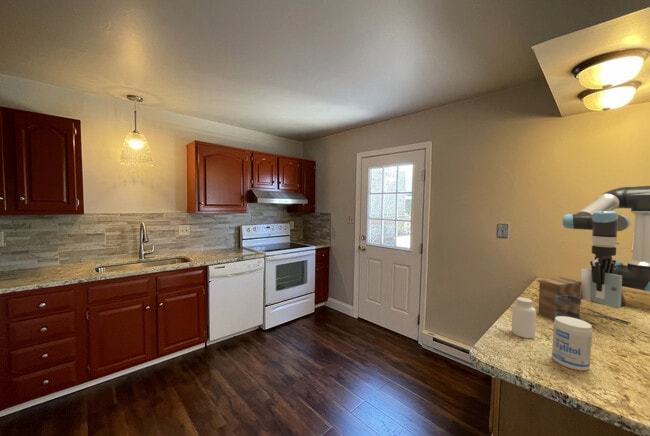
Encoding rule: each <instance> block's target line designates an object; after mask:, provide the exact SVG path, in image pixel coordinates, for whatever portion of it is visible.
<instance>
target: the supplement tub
mask: <svg viewBox="0 0 650 436" xmlns="http://www.w3.org/2000/svg"><path fill="white" fill-rule="evenodd" d="M592 326H593V325H592V324H590V323H589V322H587V321H585V320H583V319H580V320H579V319H576V318H572V317H566V316H557V317H555V320H554V322H553V330H552V331H553V335H552V348H551V357H552V359H553V360H554V361H555V362H556V363H558V364H559V365H561V366H563V367H566V368H569V369H572V370H576V371H588V370H589V369H590V368H591V355H592V339H593V327H592Z"/></svg>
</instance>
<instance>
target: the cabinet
mask: <svg viewBox="0 0 650 436" xmlns="http://www.w3.org/2000/svg"><path fill="white" fill-rule="evenodd" d="M537 283H538V284H539V287H538V289H539V292H538V311H537V312H538V315H540V316H544V317H546V318H549V319H552V320H554V321H555V317H557V316H566V317H572V318H576V319H579V320H581V313H580V312H581V311H580V310H581V305H582V299H581V280H577V279H576V280H575V279H570V278H565V277H563V276H561V277H553V278H550V277H549V278H543V279H537Z"/></svg>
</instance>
